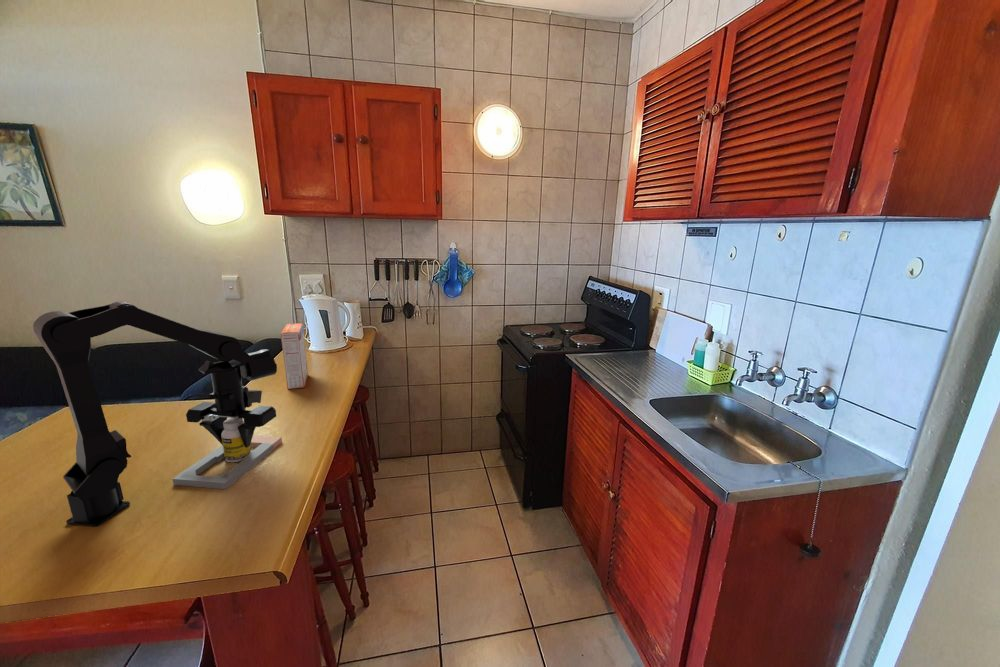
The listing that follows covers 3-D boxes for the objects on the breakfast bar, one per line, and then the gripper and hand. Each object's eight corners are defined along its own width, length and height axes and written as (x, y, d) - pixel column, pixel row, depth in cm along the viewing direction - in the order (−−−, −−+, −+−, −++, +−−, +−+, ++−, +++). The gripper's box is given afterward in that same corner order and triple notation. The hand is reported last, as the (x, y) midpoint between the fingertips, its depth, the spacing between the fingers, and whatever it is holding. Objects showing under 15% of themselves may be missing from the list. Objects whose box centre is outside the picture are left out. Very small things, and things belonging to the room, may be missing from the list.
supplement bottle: (221, 464, 94) (215, 427, 91) (230, 452, 99) (224, 416, 96) (247, 461, 95) (241, 424, 93) (254, 449, 100) (249, 414, 98)
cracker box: (291, 376, 151) (286, 323, 146) (308, 374, 153) (304, 322, 148) (285, 389, 138) (279, 332, 133) (304, 388, 140) (299, 331, 135)
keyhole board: (225, 489, 85) (224, 483, 85) (173, 484, 86) (172, 478, 86) (282, 442, 105) (281, 437, 104) (239, 439, 105) (238, 433, 105)
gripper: (286, 376, 99) (292, 432, 103) (216, 372, 101) (225, 427, 104) (256, 393, 89) (264, 455, 92) (179, 388, 90) (190, 449, 94)
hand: (236, 445), depth 96 cm, fingers closed on supplement bottle, 5 cm apart
